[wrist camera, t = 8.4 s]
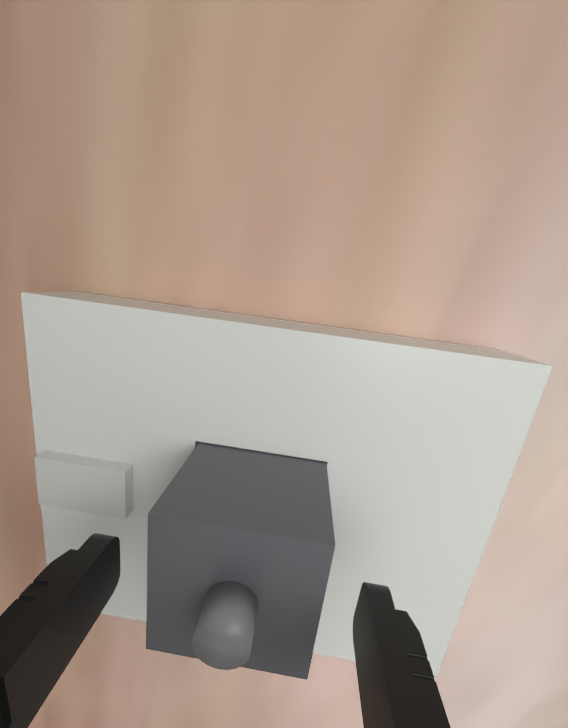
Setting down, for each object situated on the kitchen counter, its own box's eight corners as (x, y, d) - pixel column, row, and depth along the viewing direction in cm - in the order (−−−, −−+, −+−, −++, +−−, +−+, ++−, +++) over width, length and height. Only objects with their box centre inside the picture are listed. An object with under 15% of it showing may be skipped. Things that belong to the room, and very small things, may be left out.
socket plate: (79, 291, 14) (5, 292, 11) (499, 349, 13) (567, 370, 10) (91, 554, 18) (40, 616, 15) (415, 612, 17) (442, 692, 14)
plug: (219, 413, 15) (122, 548, 7) (322, 429, 15) (339, 587, 7) (212, 501, 17) (124, 696, 9) (307, 516, 16) (306, 733, 8)
